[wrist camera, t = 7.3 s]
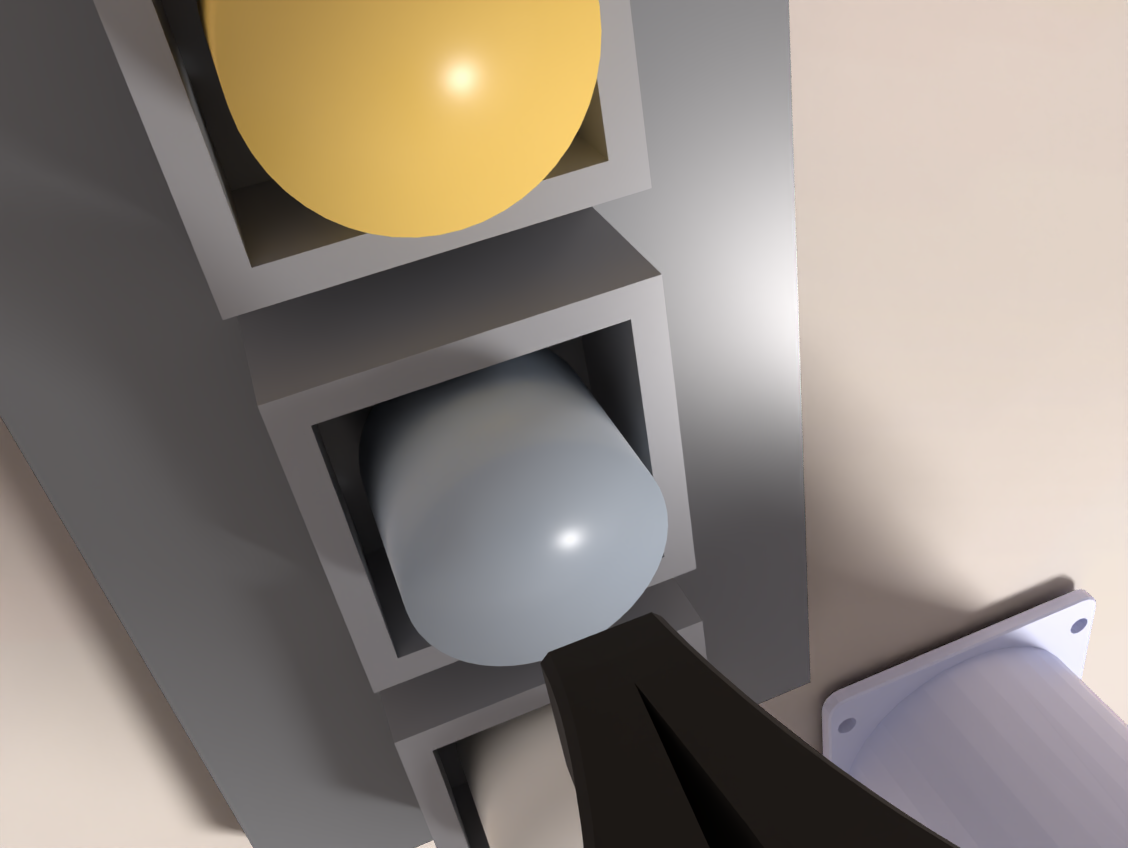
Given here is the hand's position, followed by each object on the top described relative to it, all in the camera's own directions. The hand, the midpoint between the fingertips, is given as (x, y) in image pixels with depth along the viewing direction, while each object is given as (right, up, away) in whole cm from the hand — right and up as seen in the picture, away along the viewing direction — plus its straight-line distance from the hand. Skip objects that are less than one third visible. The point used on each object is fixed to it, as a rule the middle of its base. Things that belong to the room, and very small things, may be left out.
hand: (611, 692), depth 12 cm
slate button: (-2, +3, +4) cm, 5 cm away
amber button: (-3, +8, 0) cm, 8 cm away
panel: (-3, +4, +6) cm, 8 cm away
